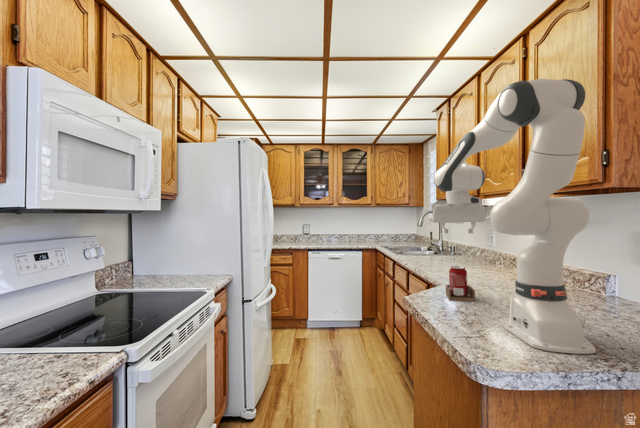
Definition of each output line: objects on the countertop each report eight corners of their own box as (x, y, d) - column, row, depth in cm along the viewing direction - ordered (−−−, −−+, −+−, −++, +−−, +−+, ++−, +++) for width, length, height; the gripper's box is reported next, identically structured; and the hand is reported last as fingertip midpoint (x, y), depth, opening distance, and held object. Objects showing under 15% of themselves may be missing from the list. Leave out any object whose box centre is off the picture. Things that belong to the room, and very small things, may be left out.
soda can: (465, 298, 125) (464, 268, 125) (447, 296, 129) (447, 267, 129) (469, 295, 130) (468, 266, 131) (451, 293, 135) (451, 265, 135)
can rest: (475, 301, 124) (474, 290, 124) (449, 300, 126) (448, 289, 126) (469, 295, 133) (469, 285, 133) (445, 294, 136) (445, 284, 136)
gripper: (432, 200, 130) (432, 233, 130) (486, 199, 125) (486, 233, 125) (430, 201, 136) (431, 233, 136) (481, 199, 131) (482, 232, 131)
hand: (458, 233), depth 130 cm, fingers open, 8 cm apart
